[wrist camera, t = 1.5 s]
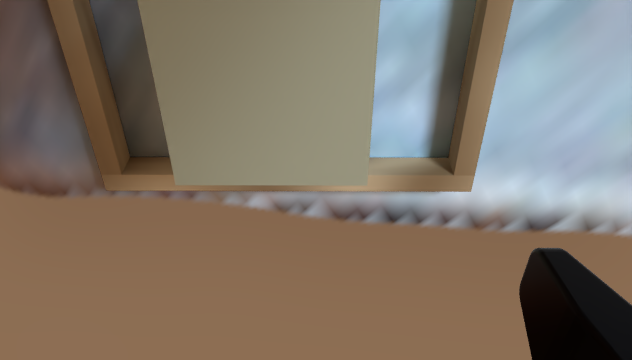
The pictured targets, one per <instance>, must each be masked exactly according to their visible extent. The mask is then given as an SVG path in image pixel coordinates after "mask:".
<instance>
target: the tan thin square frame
mask: <svg viewBox="0 0 632 360" xmlns="http://www.w3.org/2000/svg"><path fill="white" fill-rule="evenodd" d="M513 1H514V0H477V1H476V7H475V12H474V18H473V23H472V29H471V34H470V40H469V45H468V51H467V57H466V62H465V68H464V73H463V79H462V84H461V90H460V95H459V101H458V106H457V112H456V117H455V123H454V128H453V134H452V139H451V145H450V150H449V156H448V158H369V168H368V183H367V186H323V185H176V184H175V179H174V175H173V170H172V165H171V160H170V157H130V154H129V151H128V147H127V143H126V139H125V135H124V132H123V128H122V124H121V120H120V116H119V112H118V109H117V105H116V101H115V97H114V93H113V90H112V86H111V82H110V78H109V74H108V70H107V67H106V63H105V59H104V55H103V51H102V48H101V44H100V40H99V36H98V32H97V29H96V25H95V21H94V17H93V13H92V9H91V6H90V2H89V0H47V2H48V5H49V8H50V11H51V14H52V18H53V21H54V24H55V27H56V31H57V34H58V37H59V40H60V43H61V47H62V50H63V53H64V56H65V60H66V63H67V66H68V69H69V72H70V76H71V79H72V82H73V85H74V89H75V92H76V95H77V98H78V101H79V105H80V108H81V111H82V114H83V118H84V121H85V124H86V127H87V130H88V134H89V137H90V140H91V143H92V147H93V150H94V153H95V156H96V160H97V163H98V166H99V169H100V172H101V176H102V179H103V182H104V185H105V189H106V191H459V192H471V189H472V185H473V180H474V176H475V171H476V167H477V162H478V158H479V153H480V149H481V144H482V140H483V135H484V131H485V126H486V122H487V117H488V113H489V108H490V104H491V99H492V95H493V91H494V86H495V82H496V77H497V73H498V68H499V64H500V59H501V55H502V50H503V46H504V41H505V37H506V32H507V28H508V23H509V19H510V14H511V10H512V5H513Z"/></svg>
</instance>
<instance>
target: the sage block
mask: <svg viewBox="0 0 632 360" xmlns="http://www.w3.org/2000/svg"><path fill="white" fill-rule="evenodd" d="M137 1H138V6H139V11H140V15H141V20H142V25H143V30H144V35H145V40H146V44H147V49H148V54H149V59H150V64H151V68H152V73H153V78H154V83H155V88H156V93H157V97H158V102H159V107H160V112H161V117H162V122H163V126H164V131H165V136H166V141H167V146H168V150H169V155H170V160H171V165H172V170H173V175H174V179H175V184H176V185H323V186H367V183H368V168H369V154H370V140H371V126H372V112H373V98H374V84H375V70H376V56H377V42H378V28H379V14H380V0H137Z"/></svg>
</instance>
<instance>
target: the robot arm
mask: <svg viewBox="0 0 632 360" xmlns="http://www.w3.org/2000/svg"><path fill="white" fill-rule="evenodd" d="M519 291H520V292H519V295H520V302H521V307H522V312H523V317H524V322H525V327H526V331H527V337H528V341H529V346H530V351H531V356H532V360H632V305H631V304H630V303H628V302H627V301H626V300H625V299H623V298H622V297H621V296H620V295H619V294H618V293H616V292H615V291H614V290H613V289H612V288H610V287H609V286H608V285H607V284H605V283H604V282H603V281H602V280H601V279H599V278H598V277H597V276H596V275H595V274H593V273H592V272H591V271H590V270H589V269H587V268H586V267H585V266H583V265H582V264H581V263H580V262H579V261H578V260H576V259H575V258H574V257H573V256H572V255H570V254H569V253H568V252H567V251H565V250H563V249H560V248H537V249H534V250H533V251H532V253H531V255H530V257H529V260H528V263H527V266H526V269H525V272H524V274H523V277H522V280H521V284H520V289H519Z"/></svg>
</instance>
